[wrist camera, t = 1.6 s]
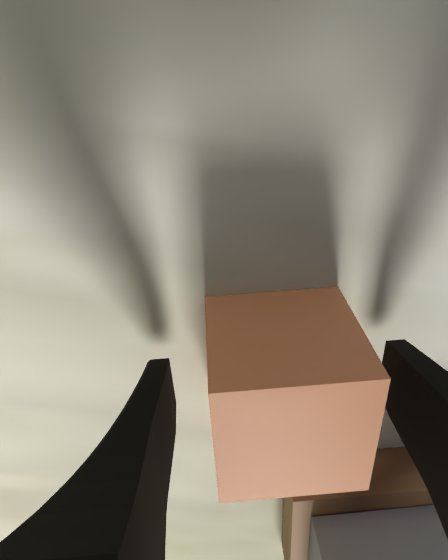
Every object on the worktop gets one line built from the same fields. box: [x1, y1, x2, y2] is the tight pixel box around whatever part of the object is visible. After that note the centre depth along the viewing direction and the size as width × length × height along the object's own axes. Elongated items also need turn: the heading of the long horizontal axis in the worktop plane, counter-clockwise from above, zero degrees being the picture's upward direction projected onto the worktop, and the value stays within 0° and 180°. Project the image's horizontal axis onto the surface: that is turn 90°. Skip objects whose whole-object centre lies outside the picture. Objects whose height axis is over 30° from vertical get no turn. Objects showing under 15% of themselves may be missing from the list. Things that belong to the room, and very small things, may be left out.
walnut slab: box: [282, 447, 434, 560], centre depth 20 cm, size 7×7×2 cm
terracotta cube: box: [205, 287, 391, 503], centre depth 13 cm, size 4×4×4 cm
